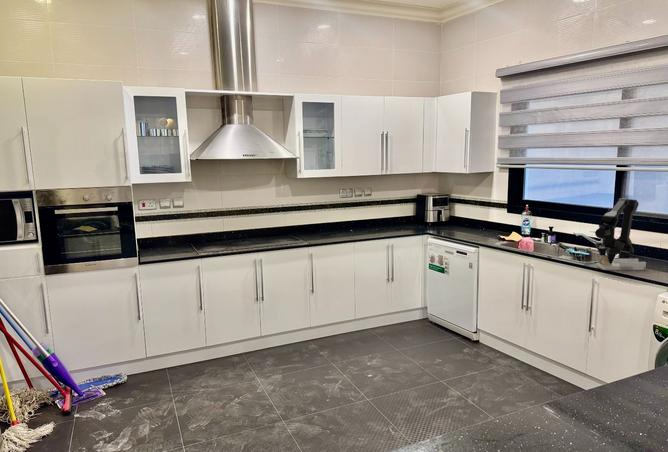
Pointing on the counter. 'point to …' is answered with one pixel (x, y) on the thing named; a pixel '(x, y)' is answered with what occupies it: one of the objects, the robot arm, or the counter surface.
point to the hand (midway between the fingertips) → (606, 261)
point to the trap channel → (624, 265)
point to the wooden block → (604, 261)
